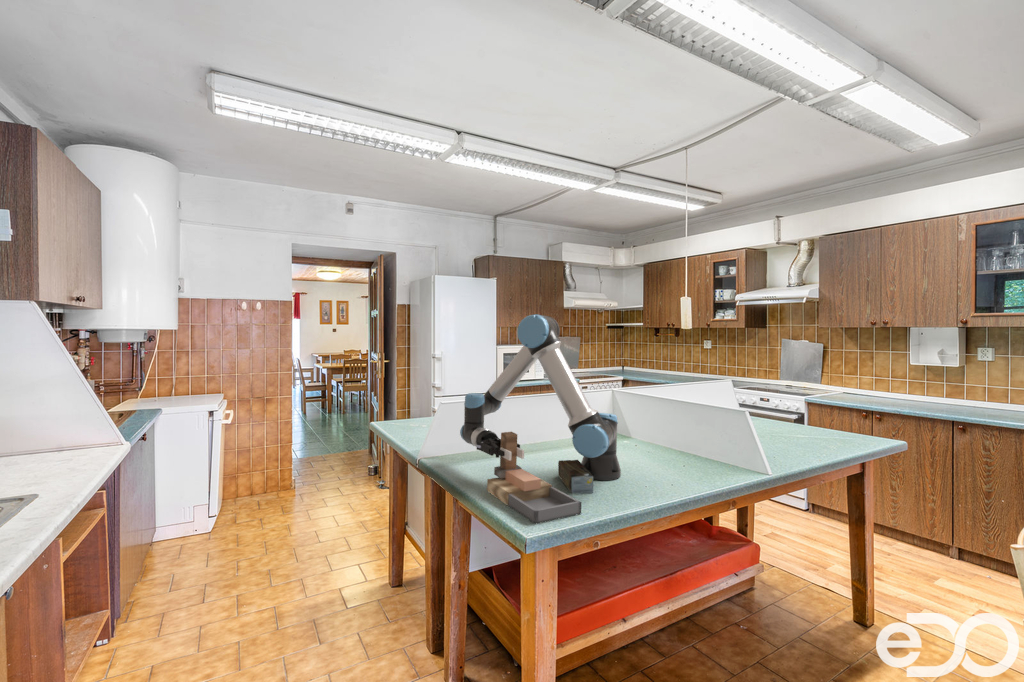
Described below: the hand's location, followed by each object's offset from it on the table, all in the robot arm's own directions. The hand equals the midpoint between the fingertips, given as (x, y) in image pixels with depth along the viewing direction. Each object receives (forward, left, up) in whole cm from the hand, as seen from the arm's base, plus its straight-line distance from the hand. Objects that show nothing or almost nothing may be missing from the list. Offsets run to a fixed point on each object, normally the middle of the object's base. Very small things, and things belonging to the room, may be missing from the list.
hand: (516, 455), depth 153 cm
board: (-1, -1, -13) cm, 13 cm away
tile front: (-4, +4, -9) cm, 10 cm away
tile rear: (0, -1, -9) cm, 9 cm away
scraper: (+3, -5, -8) cm, 10 cm away
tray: (-10, +11, -13) cm, 20 cm away
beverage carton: (-19, -14, -13) cm, 27 cm away
